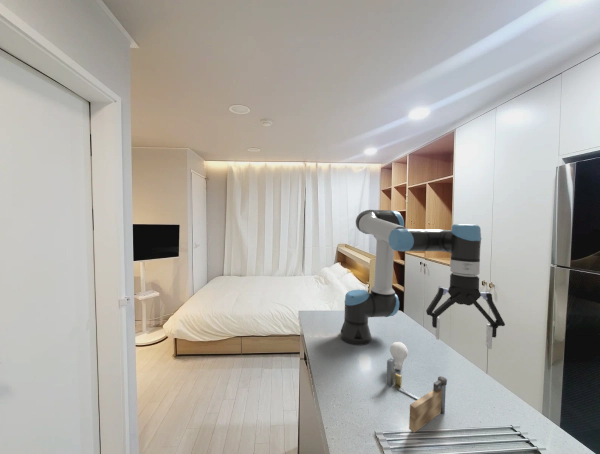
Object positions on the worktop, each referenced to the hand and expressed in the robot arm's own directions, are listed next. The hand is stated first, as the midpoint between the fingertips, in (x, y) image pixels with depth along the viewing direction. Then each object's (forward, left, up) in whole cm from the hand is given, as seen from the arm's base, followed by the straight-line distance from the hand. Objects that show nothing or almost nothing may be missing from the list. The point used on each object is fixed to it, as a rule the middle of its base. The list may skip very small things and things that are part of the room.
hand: (462, 342), depth 77 cm
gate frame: (-12, -4, -22) cm, 25 cm away
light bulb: (-23, +7, -22) cm, 32 cm away
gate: (-5, -11, -21) cm, 25 cm away
